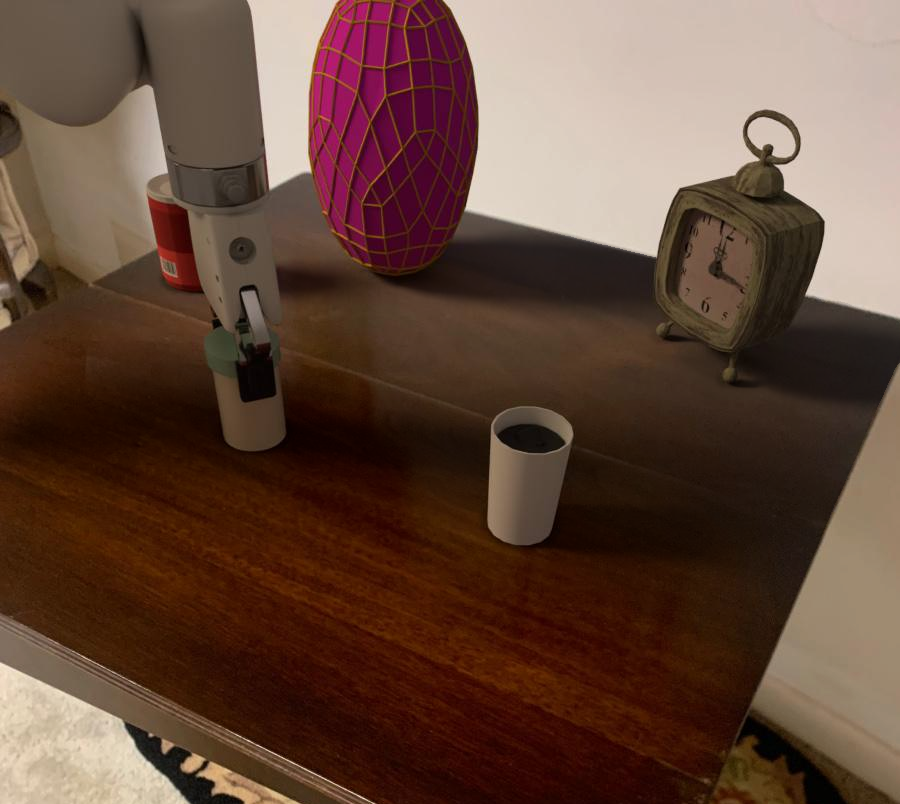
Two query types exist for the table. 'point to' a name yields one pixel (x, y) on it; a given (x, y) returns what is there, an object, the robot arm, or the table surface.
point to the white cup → (526, 472)
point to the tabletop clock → (737, 254)
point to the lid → (232, 350)
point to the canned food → (172, 236)
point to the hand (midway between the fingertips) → (246, 375)
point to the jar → (250, 415)
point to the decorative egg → (392, 130)
